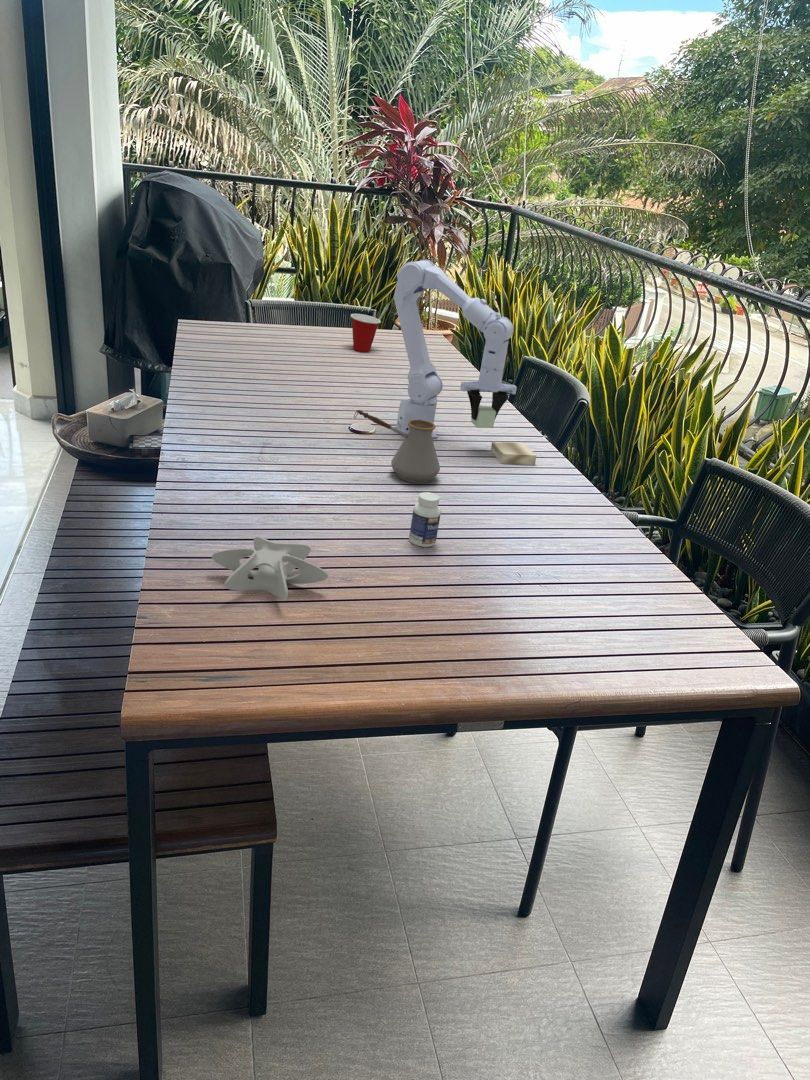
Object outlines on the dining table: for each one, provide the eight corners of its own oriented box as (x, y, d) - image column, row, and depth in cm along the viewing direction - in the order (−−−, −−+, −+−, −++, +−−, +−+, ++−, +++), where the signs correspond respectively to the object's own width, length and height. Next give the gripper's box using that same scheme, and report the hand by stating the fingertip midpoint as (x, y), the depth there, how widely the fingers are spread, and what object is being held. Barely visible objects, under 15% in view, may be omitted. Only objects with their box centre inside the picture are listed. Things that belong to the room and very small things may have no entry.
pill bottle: (426, 550, 161) (434, 504, 157) (403, 541, 164) (410, 495, 159) (440, 541, 166) (448, 496, 161) (417, 532, 168) (424, 488, 164)
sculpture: (231, 618, 131) (232, 583, 128) (204, 559, 147) (205, 526, 144) (336, 607, 138) (340, 573, 135) (300, 552, 154) (303, 521, 151)
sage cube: (476, 427, 213) (479, 410, 211) (470, 421, 217) (473, 405, 215) (493, 428, 215) (496, 411, 213) (486, 422, 219) (490, 405, 217)
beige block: (501, 465, 212) (503, 454, 210) (490, 452, 219) (492, 441, 218) (534, 466, 214) (536, 455, 213) (521, 453, 222) (524, 443, 221)
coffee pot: (433, 469, 202) (443, 409, 195) (442, 487, 191) (452, 425, 185) (345, 462, 198) (352, 401, 191) (349, 481, 187) (357, 417, 181)
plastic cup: (376, 356, 294) (380, 322, 289) (346, 352, 294) (349, 317, 289) (377, 349, 304) (381, 316, 299) (348, 345, 304) (351, 311, 298)
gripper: (470, 370, 204) (461, 423, 210) (525, 373, 208) (514, 425, 214) (461, 362, 210) (452, 414, 216) (514, 365, 214) (504, 416, 220)
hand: (482, 419), depth 215 cm, fingers closed on sage cube, 4 cm apart
